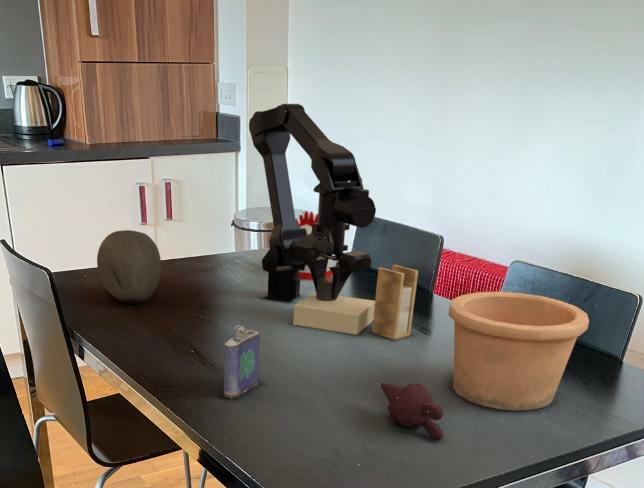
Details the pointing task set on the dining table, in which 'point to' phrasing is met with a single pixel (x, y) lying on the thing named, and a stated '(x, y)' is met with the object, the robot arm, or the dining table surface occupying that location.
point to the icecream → (413, 407)
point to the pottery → (512, 347)
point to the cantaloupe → (129, 265)
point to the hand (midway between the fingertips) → (326, 295)
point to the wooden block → (334, 314)
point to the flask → (241, 362)
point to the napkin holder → (394, 302)
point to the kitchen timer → (307, 224)
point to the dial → (324, 289)
